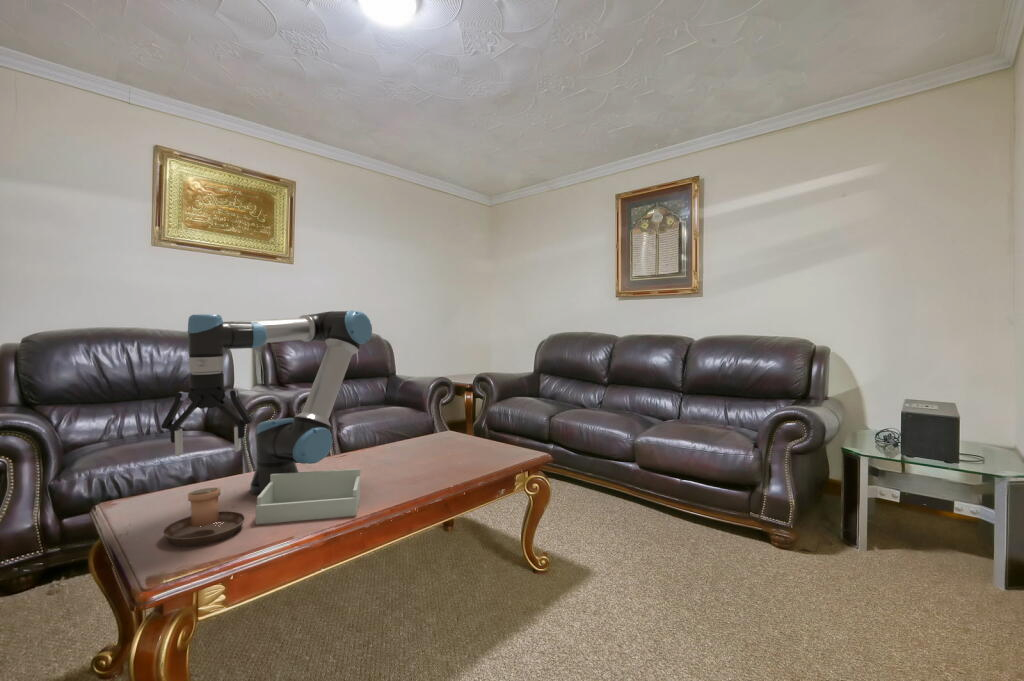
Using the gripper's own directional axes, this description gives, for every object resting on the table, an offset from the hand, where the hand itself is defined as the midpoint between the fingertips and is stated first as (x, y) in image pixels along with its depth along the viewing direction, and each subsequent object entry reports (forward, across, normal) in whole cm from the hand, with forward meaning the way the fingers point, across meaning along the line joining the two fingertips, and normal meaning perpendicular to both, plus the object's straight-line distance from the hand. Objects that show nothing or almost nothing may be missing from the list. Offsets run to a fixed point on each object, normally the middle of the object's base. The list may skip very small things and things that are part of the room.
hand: (209, 452), depth 121 cm
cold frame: (+21, +24, +7) cm, 33 cm away
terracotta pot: (+17, 0, -3) cm, 18 cm away
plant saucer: (+21, 0, -3) cm, 21 cm away
